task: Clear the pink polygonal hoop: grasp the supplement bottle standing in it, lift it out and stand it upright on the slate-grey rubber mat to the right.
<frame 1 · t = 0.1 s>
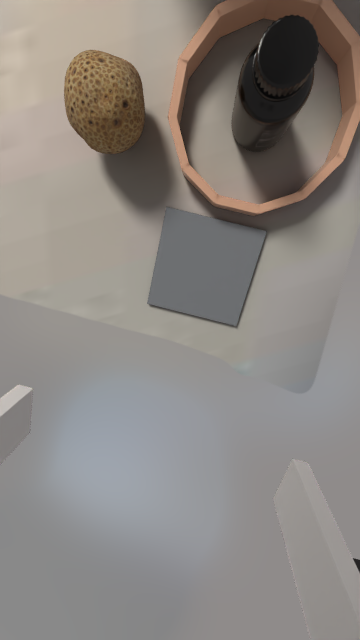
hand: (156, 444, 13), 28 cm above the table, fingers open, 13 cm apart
pink polygonal hoop: (258, 121, 32), on the table
supplement bottle: (258, 122, 32), resting in pink polygonal hoop
natural sponge: (121, 127, 33), on the table
mat: (203, 269, 37), on the table
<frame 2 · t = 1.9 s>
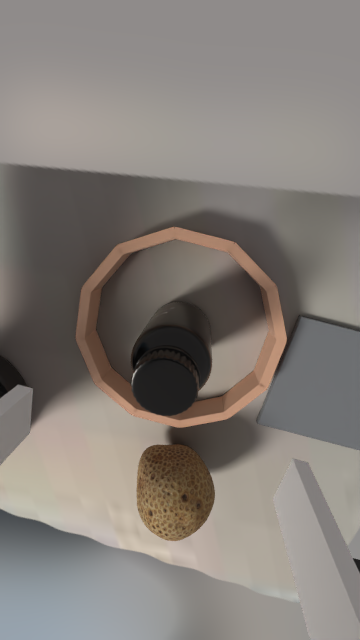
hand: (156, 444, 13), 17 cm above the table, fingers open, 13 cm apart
pink polygonal hoop: (179, 329, 29), on the table
supplement bottle: (180, 329, 29), resting in pink polygonal hoop
natural sponge: (178, 451, 34), on the table
mat: (335, 387, 29), on the table
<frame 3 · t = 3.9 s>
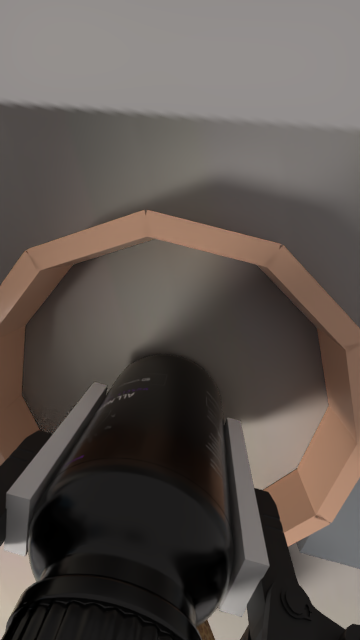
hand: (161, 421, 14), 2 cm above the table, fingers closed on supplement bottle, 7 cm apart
pink polygonal hoop: (166, 399, 16), on the table
supplement bottle: (167, 397, 16), resting in pink polygonal hoop, touching gripper
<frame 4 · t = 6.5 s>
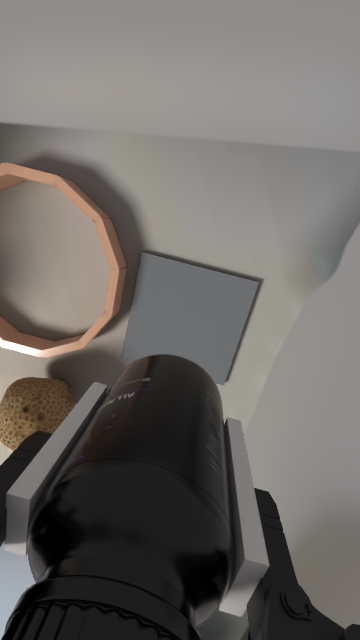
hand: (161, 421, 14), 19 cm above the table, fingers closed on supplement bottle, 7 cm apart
pink polygonal hoop: (42, 268, 32), on the table
supplement bottle: (167, 397, 16), point 17 cm above the table, touching gripper
natural sponge: (61, 389, 37), on the table
mat: (185, 321, 32), on the table
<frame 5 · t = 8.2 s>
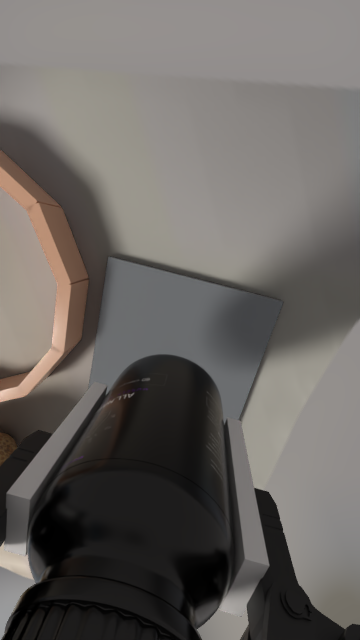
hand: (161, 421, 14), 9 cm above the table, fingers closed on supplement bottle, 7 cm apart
supplement bottle: (167, 397, 16), point 6 cm above the table, touching gripper
natural sponge: (8, 442, 27), on the table
mat: (175, 355, 22), on the table
when the fingers open (4 cm above the table, at t = 9.5 s): supplement bottle drops 2 cm, resting on mat.
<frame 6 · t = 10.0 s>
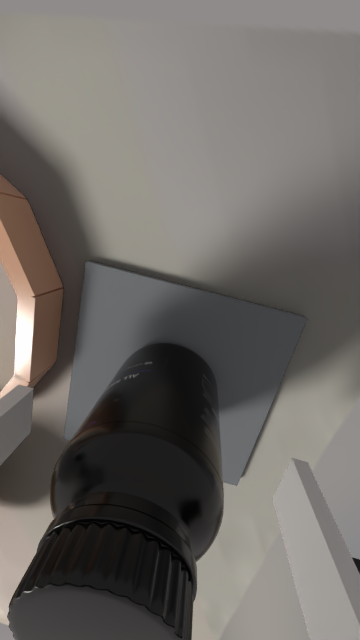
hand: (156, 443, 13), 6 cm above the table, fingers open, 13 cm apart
supplement bottle: (167, 384, 18), resting on mat
mat: (171, 381, 18), on the table
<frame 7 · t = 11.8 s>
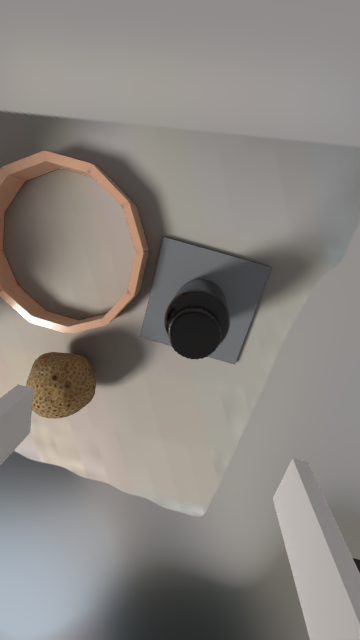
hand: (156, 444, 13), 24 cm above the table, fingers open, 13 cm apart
pink polygonal hoop: (70, 250, 34), on the table
supplement bottle: (199, 303, 34), resting on mat
natural sponge: (81, 366, 40), on the table
mat: (201, 303, 35), on the table
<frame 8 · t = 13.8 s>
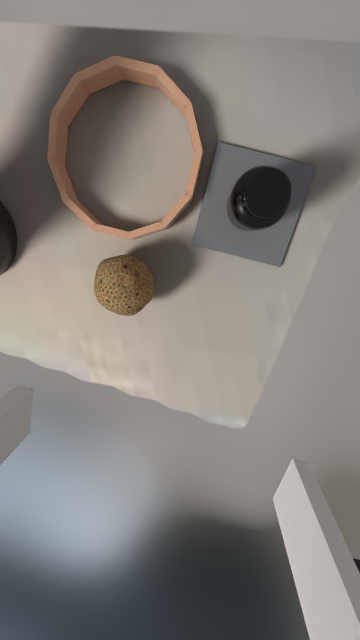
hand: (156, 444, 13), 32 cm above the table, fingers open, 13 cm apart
pink polygonal hoop: (128, 162, 38), on the table
supplement bottle: (249, 207, 37), resting on mat
natural sponge: (134, 280, 43), on the table
mat: (249, 208, 38), on the table
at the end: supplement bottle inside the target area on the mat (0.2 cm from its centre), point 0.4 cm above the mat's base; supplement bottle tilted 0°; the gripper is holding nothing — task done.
